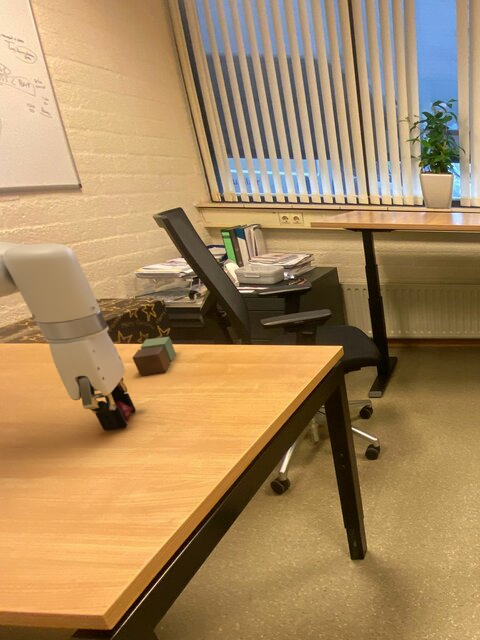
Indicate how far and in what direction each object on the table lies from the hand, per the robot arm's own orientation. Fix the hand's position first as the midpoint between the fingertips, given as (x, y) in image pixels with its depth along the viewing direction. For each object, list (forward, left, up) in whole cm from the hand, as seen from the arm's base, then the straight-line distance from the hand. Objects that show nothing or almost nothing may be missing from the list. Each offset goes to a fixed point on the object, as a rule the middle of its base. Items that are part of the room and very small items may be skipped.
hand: (120, 420), depth 74 cm
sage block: (0, +28, -1) cm, 28 cm away
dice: (0, 0, -1) cm, 1 cm away
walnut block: (0, +22, -1) cm, 22 cm away
